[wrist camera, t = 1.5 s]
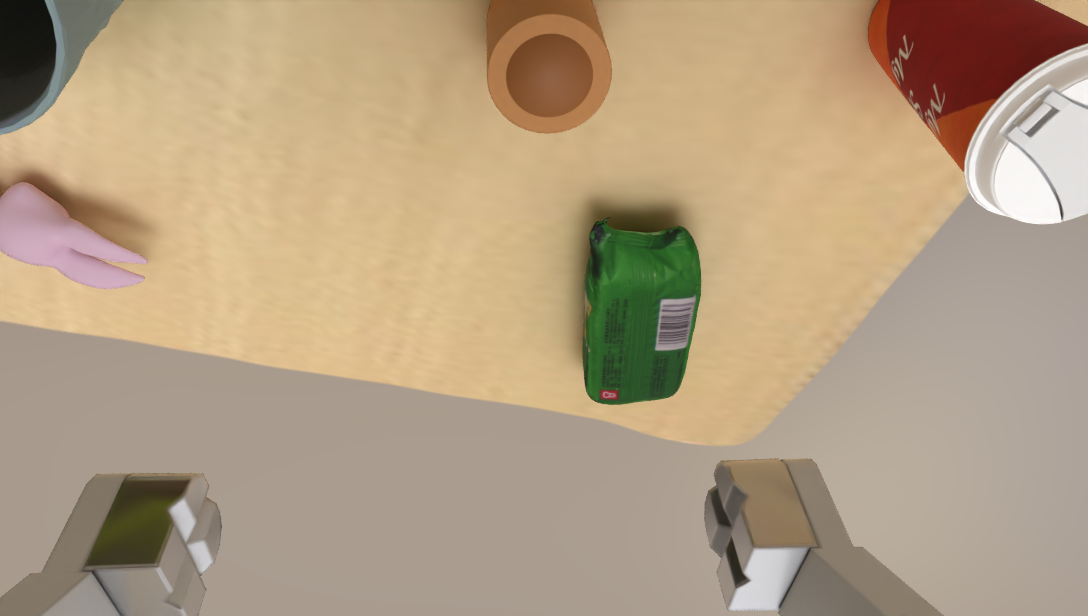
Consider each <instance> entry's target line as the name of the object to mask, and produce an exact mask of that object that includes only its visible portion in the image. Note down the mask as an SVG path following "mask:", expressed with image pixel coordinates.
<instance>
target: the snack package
mask: <svg viewBox="0 0 1088 616" xmlns="http://www.w3.org/2000/svg"><path fill="white" fill-rule="evenodd" d="M609 218H610V217H608V218H606V219H605V220H603V221H597V222H596V223H595V224H594V226H593V228H592V230H591V232H590V245H591V255H590V257H589V261H588V264H587V269H586V274H585V285H584V337H583V368H584V380H585V387H586V391H587V394H588V395H589V397H590V398H591V399H592V400H594V401H595V402H598V403H601V404H609V405H620V404H628V403H634V402H642V401H651V400H659V399H664V398H668V397H671V396H673V395H674V394H675V393H676V392H677V391H678V389H679V387H680V385H681V382H682V379H683V376H684V373H685V369H686V364H687V359H688V353H689V348H690V345H691V340H692V335H693V331H694V328H695V322H696V317H697V311H698V306H699V301H700V296H701V269H700V261H699V254H698V250H697V247H696V244H695V242H694V240H693V238H692V236H691V235H690V233H689V232H688V231H687V230H686V229H685V228H683V227H680V226H678V227H673V228H670V229H666V230H663V231H658V232H651V233H642V232H634V231H624V230H617V229H613V228H611V227H609V226H608V225H607V220H608V219H609Z"/></svg>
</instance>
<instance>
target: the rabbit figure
mask: <svg viewBox="0 0 1088 616" xmlns="http://www.w3.org/2000/svg"><path fill="white" fill-rule="evenodd" d="M0 251H2V252H3V253H4V254H6V255H8V256H10V257H12V258H14V259H16V260H18V261H21V262H24V263H28V264H32V265H37V266H47V267H53V268H55V269H57V270H58V271H59V272H61V273H62V274H63V275H64V276H66V277H68V278H69V279H71V280H73V281H75V282H78V283H80V284H83V285H87V286H90V287H95V288H100V289H115V288H122V287H127V286H131V285H134V284H138V283H140V282H142V281H144V279H145V278H144V277H143V276H141V275H138V274H135V273H132V272H130V271H127V270H125V269H122V268H119V267H116V266H113V265H111V264H108V263H106V262H104V261H102V260H99V259H97V258H100V259H103V260H107V261H112V262H123V263H139V264H147V263H148V260H147V259H146V258H145V257H143V256H142V255H140V254H137V253H135V252H133V251H130V250H128V249H125V248H123V247H121V246H119V245H117V244H115V243H113V242H111V241H110V240H108V239H106V238H104V237H102V236H101V235H99V234H97V233H96V232H94V231H93V230H92V229H90V228H88V227H87V226H85V225H84V224H82V223H80V222H78V221H76V220H74V219H71V218H70V216H69V214H68V212H67V211H66V210H65V208H64V207H63V206H61V205H60V204H59V203H58V202H56V201H55V200H53V199H52V198H50V197H49V196H47V195H46V194H44V193H43V192H42V191H40V190H39V189H37V188H36V187H35V186H33V185H31V184H29V183H27V182H20V183H17V184H14V185H12V186H11V187H9V188H8V189H7V190H6V191H5V192H4V194H3V195H2V196H1V198H0ZM95 257H97V258H95Z"/></svg>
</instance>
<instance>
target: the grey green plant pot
mask: <svg viewBox="0 0 1088 616" xmlns="http://www.w3.org/2000/svg"><path fill="white" fill-rule="evenodd" d="M123 1H124V0H0V135H2V134H6V133H11V132H13V131H15V130H18V129H20V128H22V127H25V126H27V125H29V124H31V123H32V122H34V121H35V120H36V119H38V118H39V117H41V116H42V115H43V114H44V113H45V112H46V111H47V110H48V109H49V108H50V107H51V106H52V105H53V104H54V103H55V101H56V99H57V97H58V96H59V94H60V93H61V91H62V90H63V88H64V87H65V85H66V84H67V82H68V81H69V79H70V78H71V76H72V75H73V74H74V72H75V71H76V69H77V67H78V65H79V63H80V60H81V58H82V56H83V53H84V51H85V50H86V48H87V47H88V46H89V44H90V43H91V42H92V41H93V40H94V38H95V37H96V36H97V35H98V33H99V32H100V31H101V30H102V29H104V28H105V27H106V26H107V24H108V21H109V19H110V17H111V15H112V14H113V12H114V11H115V10H116V9H117V8H118V7H119V6H120V4H121V3H122V2H123Z"/></svg>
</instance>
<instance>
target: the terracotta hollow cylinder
mask: <svg viewBox="0 0 1088 616" xmlns="http://www.w3.org/2000/svg"><path fill="white" fill-rule="evenodd" d="M611 74H612V68H611V60H610V56H609V52H608V49H607V46H606V43H605V40H604V37H603V33H602V30H601V27H600V24H599V21H598V18H597V15H596V11H595V8H594V5H593V3H592V0H492V2H491V4H490V7H489V11H488V16H487V82H488V88H489V92H490V94H491V97H492V99H493V101H494V103H495V105H496V106H497V108H498V109H499V111H500V112H501V113H502V114H503V115H504V116H505V117H506V118H507V119H508V120H509V121H511V122H512V123H514V124H515V125H517V126H519V127H521V128H523V129H526V130H529V131H532V132H537V133H557V132H563V131H566V130H569V129H572V128H574V127H576V126H578V125H580V124H582V123H583V122H585V121H586V120H587V119H589V118H590V117H591V116H592V115H593V114H594V113H595V112H596V111H597V110H598V109H599V107H600V106H601V104H602V103H603V101H604V99H605V97H606V95H607V93H608V90H609V87H610V82H611Z"/></svg>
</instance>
